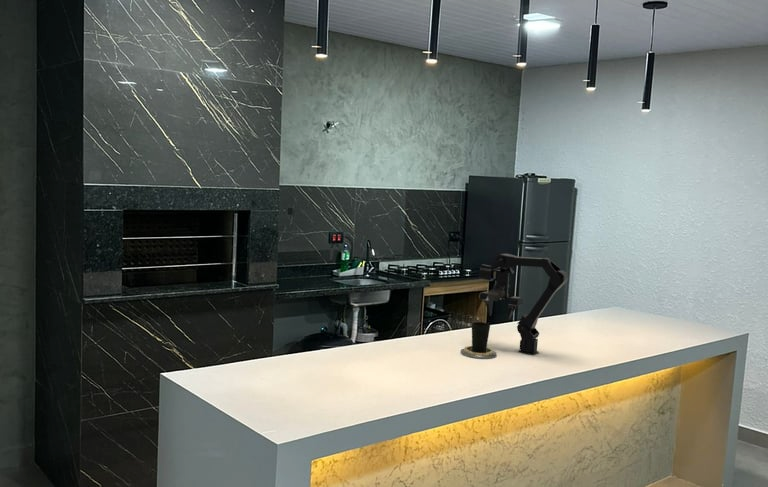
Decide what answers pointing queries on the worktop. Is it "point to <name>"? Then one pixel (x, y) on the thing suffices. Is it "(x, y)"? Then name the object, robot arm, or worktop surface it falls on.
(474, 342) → the cup
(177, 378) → the worktop surface
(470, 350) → the flange plate
